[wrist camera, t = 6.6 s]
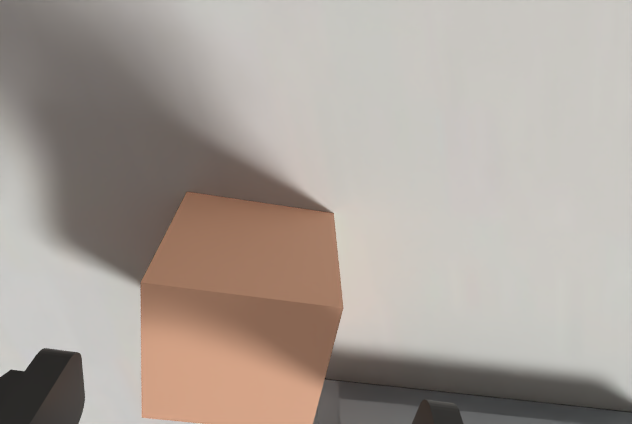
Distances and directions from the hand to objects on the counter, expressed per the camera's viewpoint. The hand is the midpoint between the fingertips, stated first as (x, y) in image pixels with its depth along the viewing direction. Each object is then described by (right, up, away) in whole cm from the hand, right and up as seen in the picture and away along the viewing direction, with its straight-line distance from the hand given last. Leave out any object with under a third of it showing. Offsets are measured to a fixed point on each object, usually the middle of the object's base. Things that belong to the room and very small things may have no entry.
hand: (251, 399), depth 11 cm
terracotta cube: (-1, +3, +4) cm, 5 cm away
